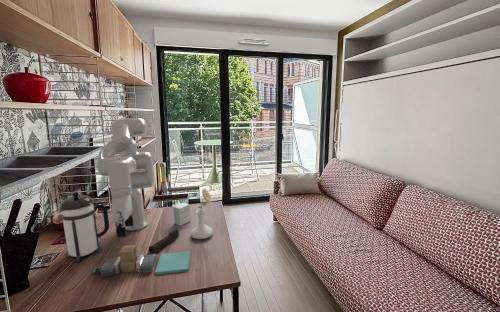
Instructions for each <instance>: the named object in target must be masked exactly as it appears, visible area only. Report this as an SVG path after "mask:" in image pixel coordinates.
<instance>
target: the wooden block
mask: <svg viewBox="0 0 500 312" xmlns="http://www.w3.org/2000/svg"><path fill="white" fill-rule="evenodd" d="M118 254H119V257H120V261H121V270H120V271H121V273H129V272H135V271H136V270H137V268H136V261H137V259H138V253H137V245H136V244H132V245H129V244H128V245H123V246H122V248H121V249H120V251H119V253H118Z"/></svg>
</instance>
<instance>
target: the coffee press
mask: <svg viewBox="0 0 500 312" xmlns="http://www.w3.org/2000/svg"><path fill="white" fill-rule="evenodd" d="M94 202H95V201H94V198H92V197H91V196H89V195H86V194H85V195H83V194H82V195H81V194H79V192H77V191H75V192H73V193H72V196H70V197H68V198H67V197H66V198H65V199H64V200H62V201H61V202H60V204H59V209H58V212H57V216H60V215H61V220H62V223H63V229H64V230H63V231H64V237H65V242H66V249H67V252H66V253H65V256H66V257H69V256H70V257H74V258H75V257H76V259H75V262H76V263H79V262H81V261H82V257H84V256H88V255H90V254H92V253H94V252H95V251H97V252H98V253H100V252H102V251H103V248H102V246H100V244H99V238H101V237H103V236H105V235H106V233H108V231H109V228H110V222H109V214H108V210H107V209H108V208H107V207H106V206H105V205H103V204H95V205H94ZM96 209H97V210H98V209H100V210H101V211H102V215H103V222H104V228H103V230H102V231H101V232H99V233H98V231H97V230H98V229H97V221H96V216H95V215H96V214H95V211H96Z"/></svg>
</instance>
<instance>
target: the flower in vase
mask: <svg viewBox="0 0 500 312" xmlns="http://www.w3.org/2000/svg"><path fill="white" fill-rule="evenodd" d="M206 189H207V188H202V191H201V194H202V197H203V199H202V201H201V204H200V205H201V206H199V205H198V207H197V210H196V211H195V213H196V214H197V217H198V224H197V225H196V226H195V227H193V228H192V230H191V231H190V236H191V238H193V239H197V240H203V239H207V238H209V237H211V236H212V234H213V229H212V228H211V227H210V226H208V225H206V224H205V223H204V215H205V213H206V210H205V209H202V208H203V207H206V206H207V203H211V201H212V197H211V196H212V195H211V193H210V192H209V190H206ZM204 200H205V201H204Z"/></svg>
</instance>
